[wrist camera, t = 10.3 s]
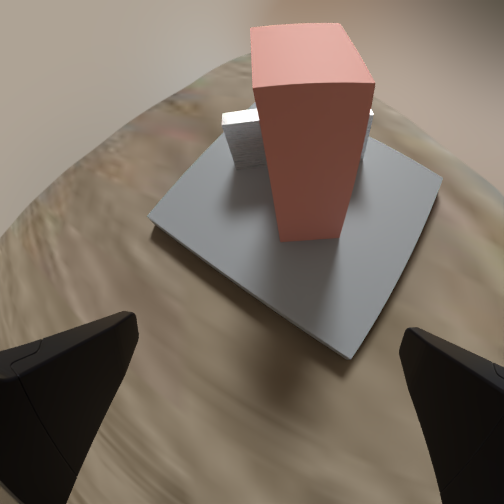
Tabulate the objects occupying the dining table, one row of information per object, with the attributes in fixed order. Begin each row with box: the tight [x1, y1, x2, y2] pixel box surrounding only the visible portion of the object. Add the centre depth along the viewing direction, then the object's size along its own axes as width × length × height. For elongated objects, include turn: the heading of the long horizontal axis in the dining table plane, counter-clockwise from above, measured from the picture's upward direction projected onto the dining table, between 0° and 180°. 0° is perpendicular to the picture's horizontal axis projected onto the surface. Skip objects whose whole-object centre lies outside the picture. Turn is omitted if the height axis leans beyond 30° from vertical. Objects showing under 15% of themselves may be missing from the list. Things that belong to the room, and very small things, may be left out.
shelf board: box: [147, 102, 443, 360], centre depth 22 cm, size 18×16×2 cm
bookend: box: [222, 109, 373, 169], centre depth 20 cm, size 10×1×5 cm, turn 91°
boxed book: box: [250, 23, 375, 242], centre depth 15 cm, size 5×4×12 cm
